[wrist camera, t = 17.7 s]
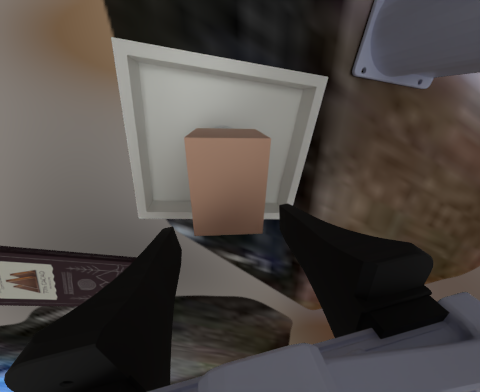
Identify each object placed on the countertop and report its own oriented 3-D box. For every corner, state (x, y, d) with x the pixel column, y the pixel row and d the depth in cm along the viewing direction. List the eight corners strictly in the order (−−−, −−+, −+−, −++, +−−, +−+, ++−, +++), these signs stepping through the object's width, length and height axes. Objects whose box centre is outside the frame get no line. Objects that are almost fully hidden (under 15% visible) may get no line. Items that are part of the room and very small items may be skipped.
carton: (255, 129, 13) (271, 138, 8) (251, 199, 15) (262, 233, 11) (196, 128, 12) (184, 137, 8) (202, 200, 15) (194, 236, 10)
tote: (309, 81, 18) (328, 77, 15) (279, 206, 24) (289, 219, 21) (128, 49, 14) (111, 37, 12) (147, 204, 20) (138, 218, 18)
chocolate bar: (132, 307, 27) (-35, 304, 22) (134, 301, 27) (-26, 297, 22) (136, 262, 23) (-62, 247, 18) (138, 257, 24) (-50, 241, 19)
